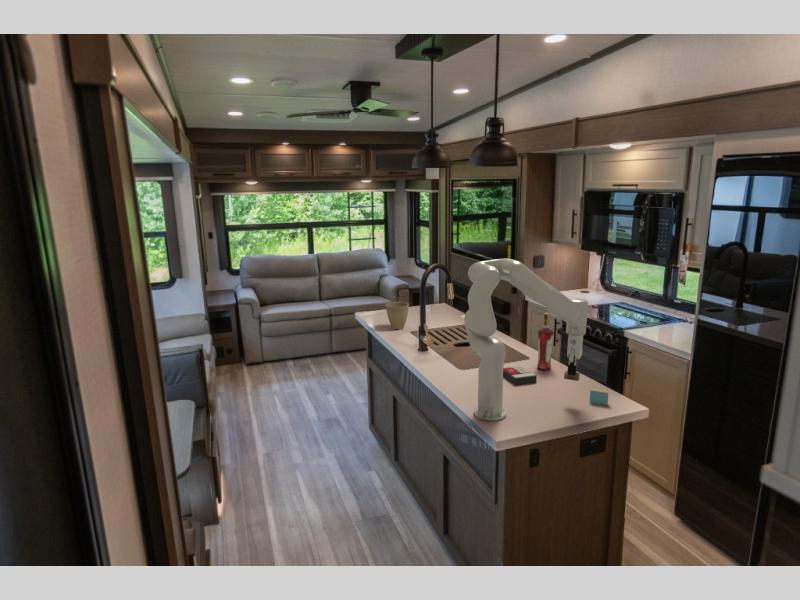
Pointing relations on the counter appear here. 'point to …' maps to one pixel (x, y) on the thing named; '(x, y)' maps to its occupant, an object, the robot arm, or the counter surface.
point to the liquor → (545, 345)
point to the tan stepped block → (572, 377)
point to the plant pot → (397, 314)
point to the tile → (599, 396)
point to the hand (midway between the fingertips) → (572, 372)
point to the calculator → (519, 375)
